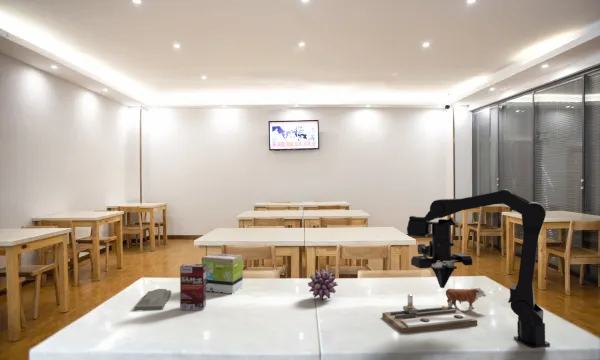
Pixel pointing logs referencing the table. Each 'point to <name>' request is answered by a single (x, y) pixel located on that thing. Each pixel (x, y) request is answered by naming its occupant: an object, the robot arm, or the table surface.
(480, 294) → the bull figurine
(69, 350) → the table surface
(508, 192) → the robot arm
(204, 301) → the supplement box
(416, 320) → the brown flat wooden board
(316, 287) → the purple spiky ball
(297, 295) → the table surface
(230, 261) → the tea box
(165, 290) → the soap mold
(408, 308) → the sliding handle
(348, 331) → the table surface
